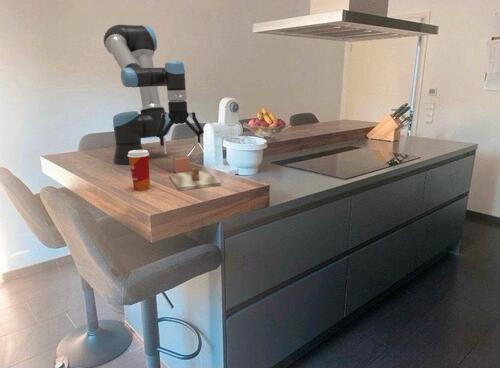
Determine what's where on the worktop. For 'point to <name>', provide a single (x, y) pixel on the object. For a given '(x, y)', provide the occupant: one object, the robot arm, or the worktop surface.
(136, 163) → the paper cup
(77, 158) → the worktop surface
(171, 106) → the robot arm
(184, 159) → the reddish orange cube
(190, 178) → the board
